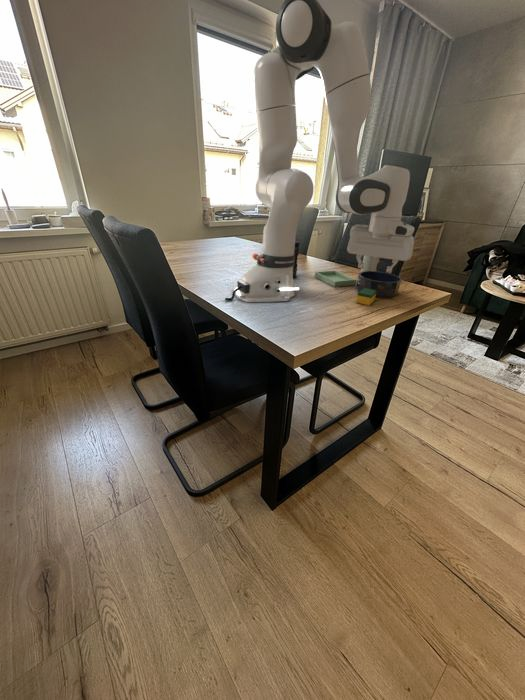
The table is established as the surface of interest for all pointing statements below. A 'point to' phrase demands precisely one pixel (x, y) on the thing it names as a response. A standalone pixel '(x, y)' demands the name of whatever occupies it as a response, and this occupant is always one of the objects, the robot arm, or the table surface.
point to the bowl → (379, 283)
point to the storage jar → (296, 252)
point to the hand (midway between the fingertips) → (374, 270)
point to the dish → (335, 278)
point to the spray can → (370, 263)
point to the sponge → (366, 296)
